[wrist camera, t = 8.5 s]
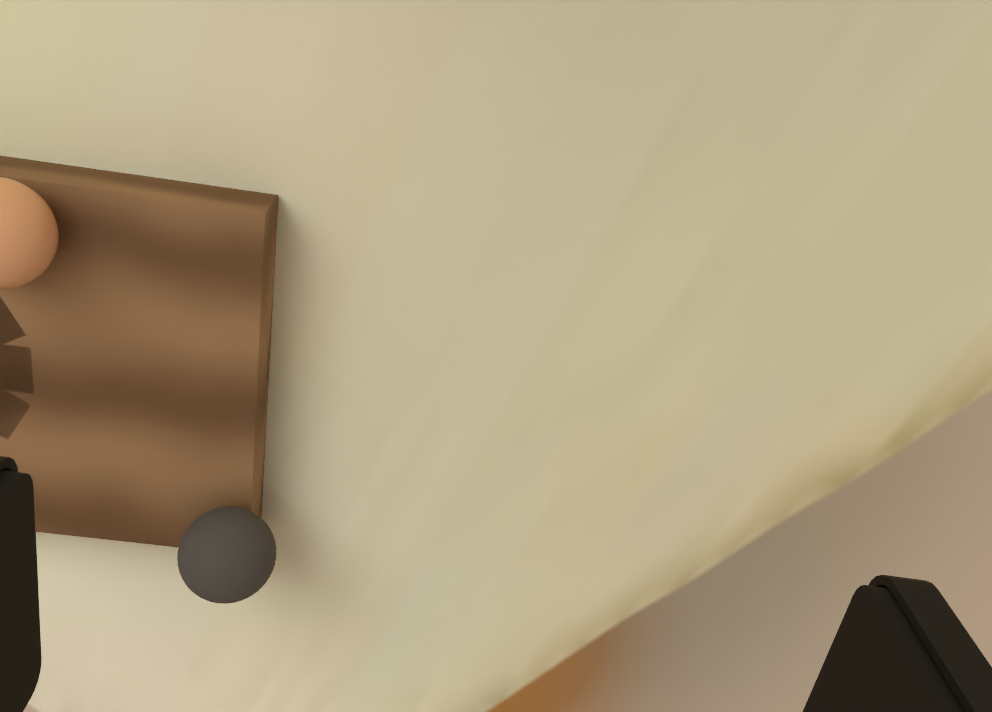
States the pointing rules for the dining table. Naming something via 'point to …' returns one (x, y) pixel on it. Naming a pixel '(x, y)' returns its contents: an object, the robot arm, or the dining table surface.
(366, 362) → the dining table surface
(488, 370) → the dining table surface
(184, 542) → the black ball
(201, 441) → the board
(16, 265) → the terracotta ball
